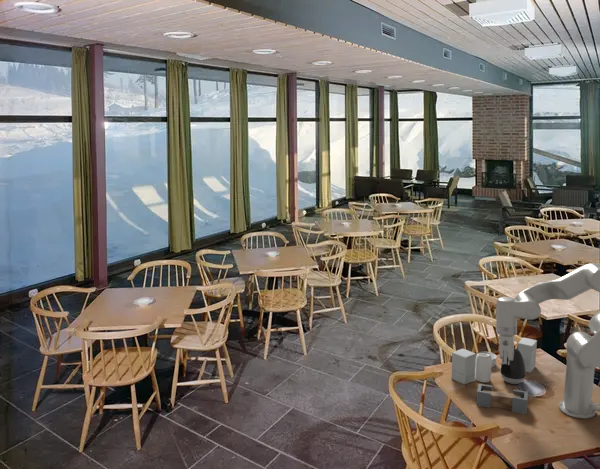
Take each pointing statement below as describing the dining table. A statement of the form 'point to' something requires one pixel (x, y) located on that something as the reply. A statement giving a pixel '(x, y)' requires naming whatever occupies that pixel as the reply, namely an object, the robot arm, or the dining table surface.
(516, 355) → the dark grey egg shape
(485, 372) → the can
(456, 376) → the supplement box
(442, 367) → the dining table surface
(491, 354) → the ramekin
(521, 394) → the endcaps
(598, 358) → the robot arm
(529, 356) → the small box
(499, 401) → the slat
